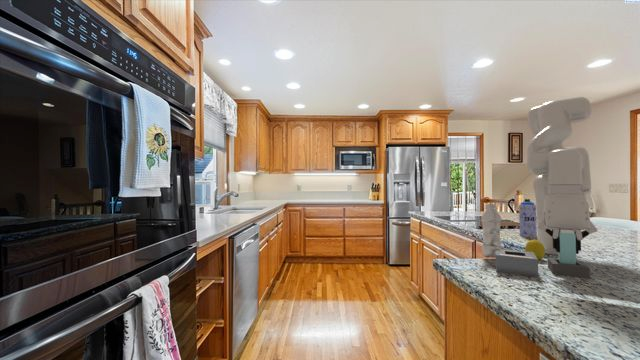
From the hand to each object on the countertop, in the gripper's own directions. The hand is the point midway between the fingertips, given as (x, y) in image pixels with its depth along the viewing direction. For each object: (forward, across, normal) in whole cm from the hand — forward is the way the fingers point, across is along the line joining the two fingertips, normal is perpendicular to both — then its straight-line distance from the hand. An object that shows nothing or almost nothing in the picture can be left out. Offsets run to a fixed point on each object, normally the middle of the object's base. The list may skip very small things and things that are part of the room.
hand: (566, 251), depth 83 cm
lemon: (+8, +6, -14) cm, 17 cm away
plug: (+3, 0, 0) cm, 3 cm away
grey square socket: (+7, 0, +1) cm, 7 cm away
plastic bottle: (+8, +19, -12) cm, 24 cm away
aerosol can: (+9, +2, -78) cm, 79 cm away
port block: (+7, +13, +6) cm, 16 cm away
